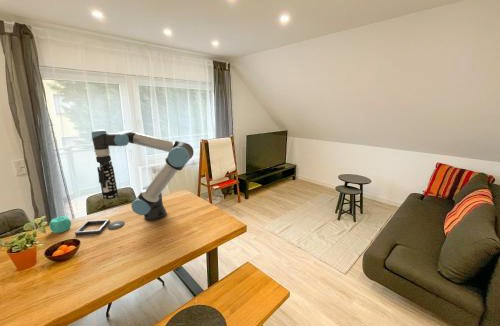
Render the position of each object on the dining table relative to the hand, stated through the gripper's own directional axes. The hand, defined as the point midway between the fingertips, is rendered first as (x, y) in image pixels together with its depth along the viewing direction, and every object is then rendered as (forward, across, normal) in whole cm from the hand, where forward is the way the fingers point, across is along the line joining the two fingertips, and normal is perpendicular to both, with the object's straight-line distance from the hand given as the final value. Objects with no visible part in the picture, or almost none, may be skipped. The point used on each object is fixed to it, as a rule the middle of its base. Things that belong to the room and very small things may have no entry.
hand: (109, 189), depth 141 cm
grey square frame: (+27, +2, -13) cm, 30 cm away
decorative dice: (+27, 0, -33) cm, 43 cm away
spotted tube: (+6, 0, 0) cm, 6 cm away
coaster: (+27, 0, 0) cm, 27 cm away
